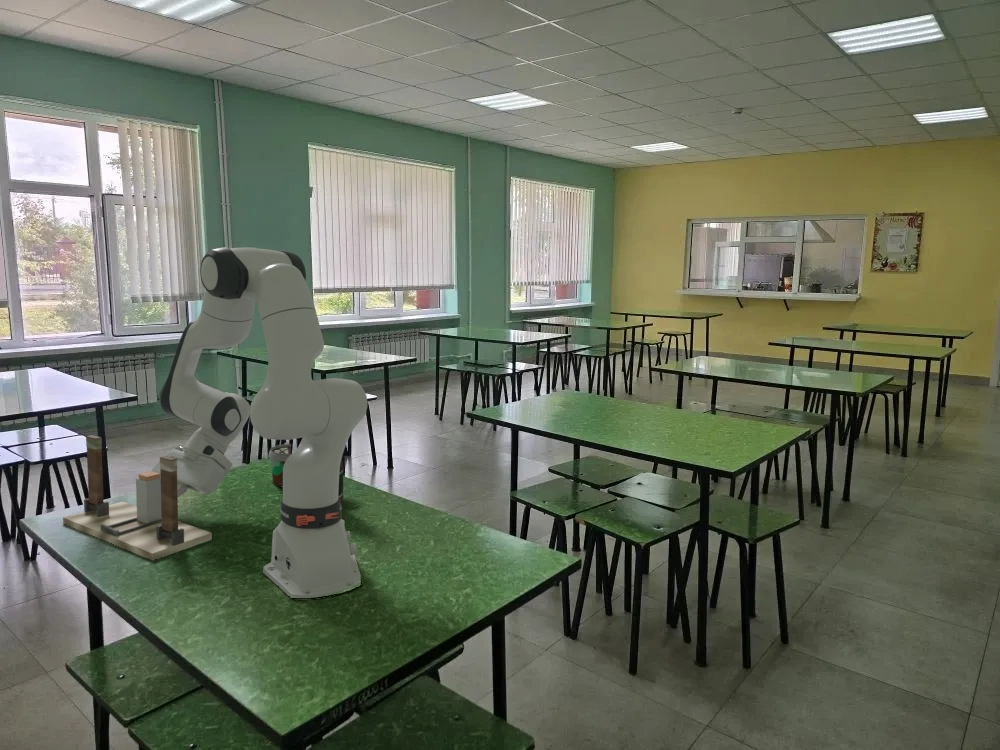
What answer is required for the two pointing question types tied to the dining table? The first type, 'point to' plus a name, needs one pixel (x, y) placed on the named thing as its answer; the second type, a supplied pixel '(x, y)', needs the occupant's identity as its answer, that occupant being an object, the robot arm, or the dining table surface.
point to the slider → (148, 497)
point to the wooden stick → (94, 470)
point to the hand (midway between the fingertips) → (166, 500)
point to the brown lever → (169, 495)
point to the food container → (279, 462)
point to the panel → (134, 530)
